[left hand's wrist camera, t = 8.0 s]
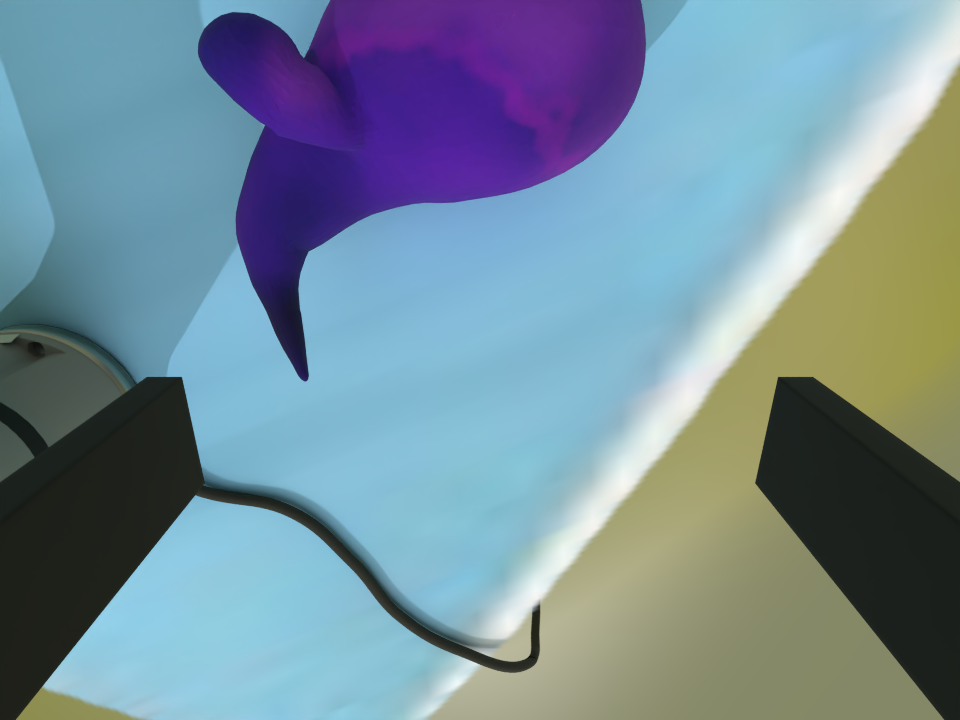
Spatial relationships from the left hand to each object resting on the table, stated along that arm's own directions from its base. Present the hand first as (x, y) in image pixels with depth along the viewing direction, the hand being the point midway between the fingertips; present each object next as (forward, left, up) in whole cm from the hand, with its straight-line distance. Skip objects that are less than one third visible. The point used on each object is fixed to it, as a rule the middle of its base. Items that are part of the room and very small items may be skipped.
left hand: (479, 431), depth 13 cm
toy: (+8, 0, -32) cm, 33 cm away
